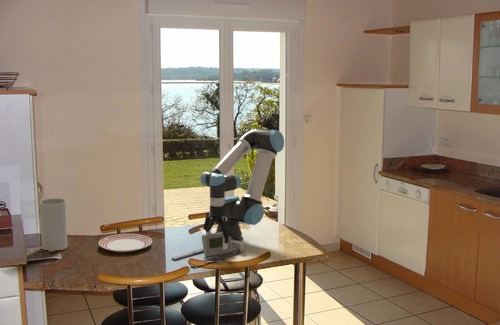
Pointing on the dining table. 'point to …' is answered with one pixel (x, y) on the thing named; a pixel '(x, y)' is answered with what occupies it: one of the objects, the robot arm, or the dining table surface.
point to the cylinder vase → (53, 224)
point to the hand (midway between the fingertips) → (216, 246)
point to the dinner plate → (125, 242)
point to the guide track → (237, 248)
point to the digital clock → (215, 244)
